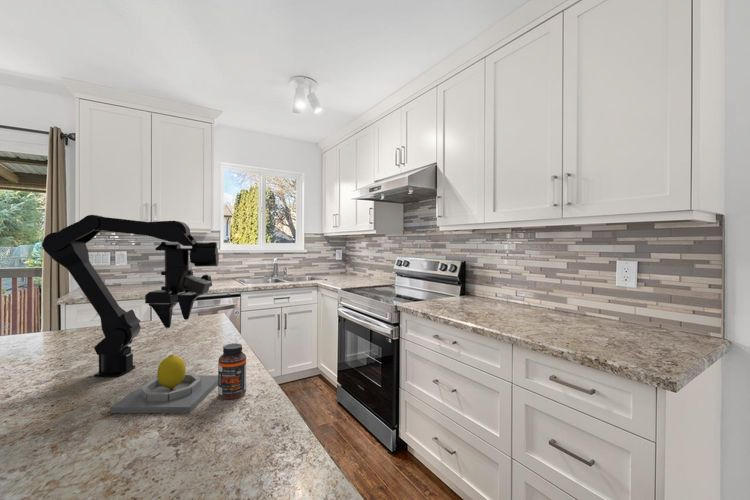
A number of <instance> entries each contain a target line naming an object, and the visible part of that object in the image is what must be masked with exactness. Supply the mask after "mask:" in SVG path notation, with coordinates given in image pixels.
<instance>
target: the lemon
mask: <svg viewBox="0 0 750 500" xmlns="http://www.w3.org/2000/svg"><path fill="white" fill-rule="evenodd" d="M156 373H157V374H156V375H157V378H158V382H159V383H160V384H161V385H162V386H163V387H165V388H169V389H170V390H172V389H174V388H175V387H176V386H178V385H179V384H180V383H181V382H182V381H183V379H184V377H185V373H187V372H186V364H185V361H184V360H183V359H182V358H181V357H180V356H178V355H175V354H169V355H168V356H167V357H164V358H163V360H161V361H160V363H159V365H158V368H157V372H156Z"/></svg>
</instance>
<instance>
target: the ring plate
mask: <svg viewBox="0 0 750 500" xmlns="http://www.w3.org/2000/svg"><path fill="white" fill-rule="evenodd" d="M216 387H218V374H215V375H214V374H211V375H209V374H206V375H205V374H204V375H201V374H200V375H199V374H198V375H197V374H196V373H187V372H185V377H184V379H183V381H182V382H181V383H180V384H179V385H178V386H176V387H175V388H174V389H172V390H170V389H169V388H165V387H163V386H162V385H161V384H160V383H159V382H158V378H157V376H155V377H153V378H152V379H150V380H149V381H147V382H146V383H144V384H143V385H141V386H140V387H138V388H137V389H134V391H132V392H131V393H129V394H128V395H126V396H125V397H123V398H122V399H120V400H118V401H117V402H116V403H114V404H113V405H111V406H109V414H183V413H184V414H187V413H188V414H189V413H191V412H192V411H193V410H194V409H195V408H197V406H198V405H199V404H200V403H201V402H202V401H203V400H204V399H205V398H206V397H207V396H208V395H210V394H211V393H212V392H213V390H215V389H216Z"/></svg>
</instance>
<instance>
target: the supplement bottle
mask: <svg viewBox="0 0 750 500" xmlns="http://www.w3.org/2000/svg"><path fill="white" fill-rule="evenodd" d="M217 366H218V367H217V368H218V371H217V372H218V373H217V375H218V385H217V390H218V391H217V393H218V395H217V396H218V397H219V398H220V399H222V400H225V401H226V400H230V401H231V400H235V399H239V398H241V397H243V396H245V394H246V393H247V355H246V354H245V352H243V345H242V344H240V343H238V342H237V343H235V342H234V343H228V344H225V345H223V347H222V354H221V355H220V356H219V358H218V363H217Z"/></svg>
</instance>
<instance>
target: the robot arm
mask: <svg viewBox="0 0 750 500" xmlns="http://www.w3.org/2000/svg"><path fill="white" fill-rule="evenodd" d="M101 232H111V233H120V234H121V233H122V234H123V233H124V234H128V235H129V234H130V235H139V236H141V235H142V236H149V237H150V238H151V237H152V238H155V239H159V240H161V241H162V240H163V241H162V242H161V243H160V244H159V245H158V246H156V247H155V248H154V249H155V251H164V270H162V271H160V275H161V276H164V286H163V285H162V286H161V288H160V289H156V290H155V289H154V290H152V291H148V292H147V293H146V294H145V295H144V303H145V304H148V306H149V307H151V308H152V310H153V311H154V312H155V314H156V315H157V317H158V318H159V320H160V321H161V323H162V324H163V326H164V328H165V329H170V328H171V326H172V316H173V309H174V307H175V306H176V305H177V304H178V305H179V308H180V311H181V314H182V316H183V317H182V318H183V319H184V320H185V321H186V320H189V318H190V316H191V313H192V310H193V309H192V308H193V306H194V304H195V303H194V302H195V301H196V300H197V299H198V298H199V297H200V296H202V295H204V294H208V292H209V289H210V288H211V287H213V281H212V276H211V275H209V274H203V275H201V276H196V275H194V271H193V269H190V267H189V266H190V265H189V264H193V265H194V267H197V268H198V267H218V266H219V259H220V255H219V254H220V253H219V250H218V243H217V242H216V241H215V242H214V241H213V242H197V240H196V238H194V236H193V235H192V234H191V228H190V226H189V225H188V224H187V223H185V222H183V221H178V220H158V221H157V220H156V221H143V220H135V219H123V218H118V217H117V218H116V217H108V216H107V217H106V216H102V215H97V214H88V215H86V216H84V217H83V218H81V219H80V220H78V221H77V222H75V223H72V224H70V225H68V226H65V227H64V228H62V229H60V230H59V231H57V232H55V231H54V232H51V233H50V232H49V234H47V235H45V237H44V238H43V241H42V243H41V247H42V249H43V250H44V252H45V253H46V254H47V255H48V256H49V257H50V258H51V259H52V260H53V261H54V262H56V263H58V264H59V265H61V266H62V267H64V268H65V269H66V270H67V271H68V272H69V274H70V276H71V277H72V278H73V279H74V281H75V282H76V284H77V285H78V287H79V289H81V291H82V292H83V294H84V296H85V297H86V298H87V300H88V301H89V303H90V304H91V306H92V307H93V309H94V310H95V312H96V313H97V315H98V316H99V318H100V326H101V331H102V333H103V335H104V337H103V339H102V340H100V341H99V342H98V343H97V344H95V346H94V347H93V349H94V351H95V353H96V355H97V356H98V372H96V373H95V374H93V377H94V378H95V377H98V378H99V377H102V378H103V377H120V376H123V375H124V374H126V373H128V372H130V371H131V370H134V369H135V368H136V365H134V355H133V354H134V353H133V352H132V347H131V346H129V345H131V344H132V343H133V340H134V339H135V338H136V337H138V335H139V334H140V331H141V328H142V327H141V324H140V322H142V321H141V319H139V318H138V317H137V315H136V313H135V311H134V310H133V309H130V310H128V311H127V310H124V309H123V308H122V307H121V306H120V305H119V304H118V301H116V299H115V298H114V296H113V295H112V293H111V291H110V290H109V289H108V287H107V286H106V284H105V282H104V281H103V280H102V279H101V277H100V275H99V273H98V272H97V271H96V269H95V267H94V266H93V265H92V263H91V261H90V256H89V249H88V247H87V245H86V244H88V243H89V242H91V241H92V240H93V239H94V238H95V237H96V236H97V235H98V234H99V233H101ZM168 242H170V243H171V244H168ZM172 243H174V244H172ZM175 243H178V244H175ZM181 245H182V246H183V247H182V246H181ZM185 247H186V248H185ZM189 247H190V248H189ZM189 261H190V263H189Z"/></svg>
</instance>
